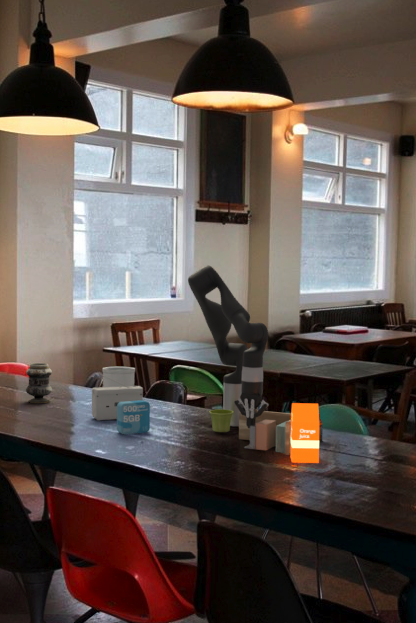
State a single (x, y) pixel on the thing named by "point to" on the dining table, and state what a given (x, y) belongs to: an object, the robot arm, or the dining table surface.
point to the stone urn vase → (39, 382)
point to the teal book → (280, 437)
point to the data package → (133, 417)
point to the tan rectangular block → (265, 434)
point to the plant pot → (221, 420)
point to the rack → (266, 415)
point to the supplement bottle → (320, 429)
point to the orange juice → (304, 433)
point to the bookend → (252, 437)
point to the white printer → (112, 399)
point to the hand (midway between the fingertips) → (250, 427)
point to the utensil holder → (118, 376)
